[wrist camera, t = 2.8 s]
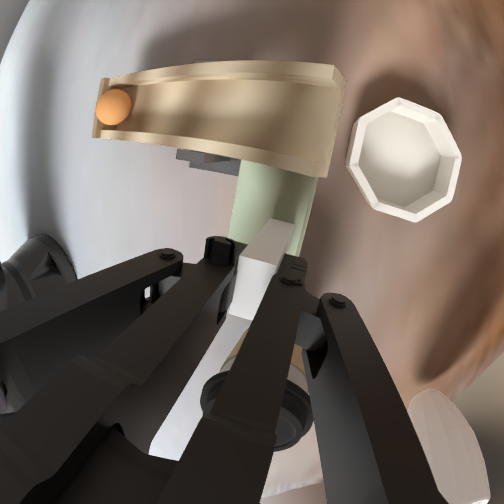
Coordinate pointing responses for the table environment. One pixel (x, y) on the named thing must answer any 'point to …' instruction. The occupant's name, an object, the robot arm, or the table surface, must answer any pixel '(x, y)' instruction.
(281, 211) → the lever
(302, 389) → the coffee cup
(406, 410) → the robot arm
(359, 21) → the table surface
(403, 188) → the bowl
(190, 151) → the fulcrum
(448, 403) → the cup
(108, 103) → the ball
